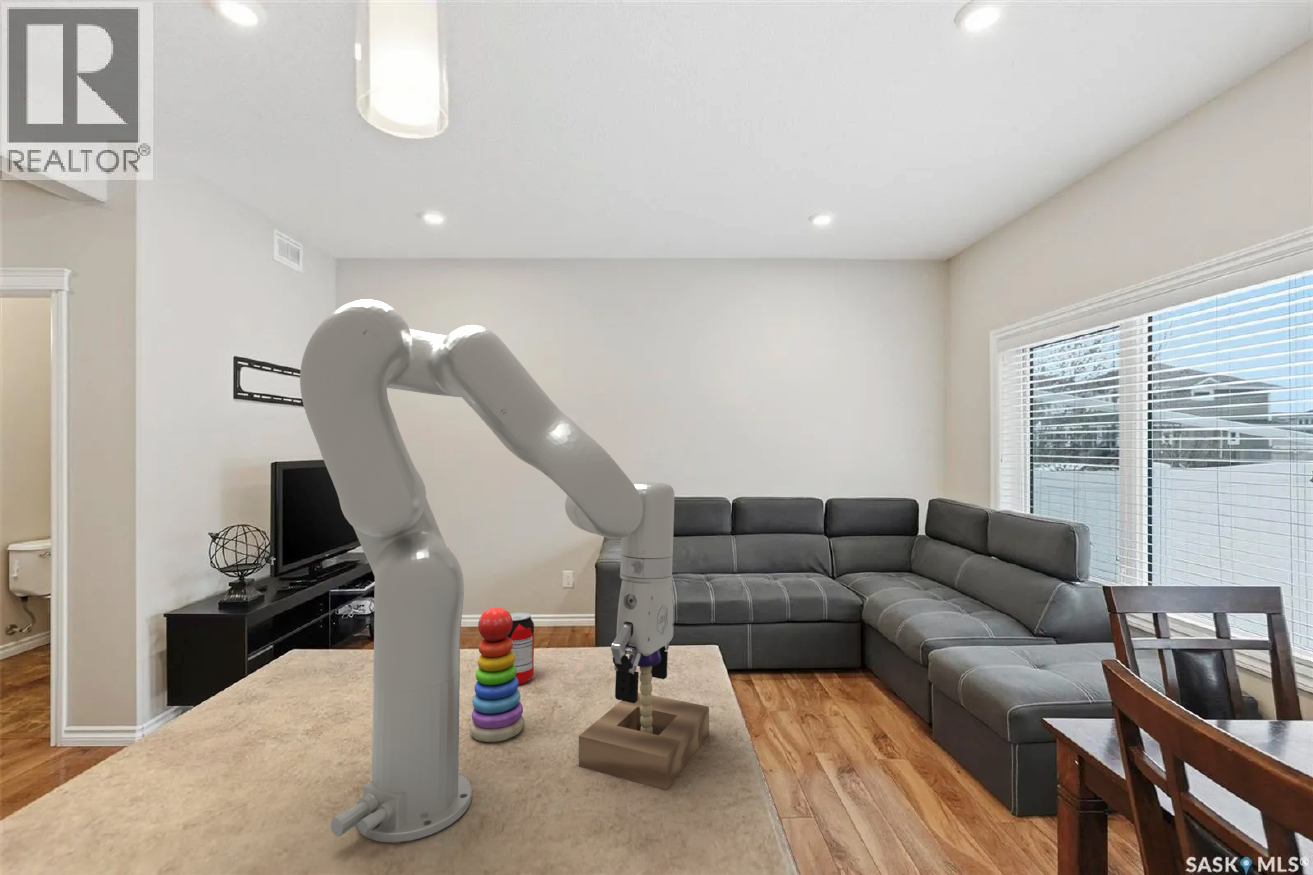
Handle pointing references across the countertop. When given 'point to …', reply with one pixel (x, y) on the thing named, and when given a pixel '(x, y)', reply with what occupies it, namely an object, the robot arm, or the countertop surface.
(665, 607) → the robot arm
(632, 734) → the brown flat frame block
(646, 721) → the toy lamp
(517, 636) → the beverage can
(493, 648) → the stacking toy
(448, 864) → the countertop surface
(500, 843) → the countertop surface
